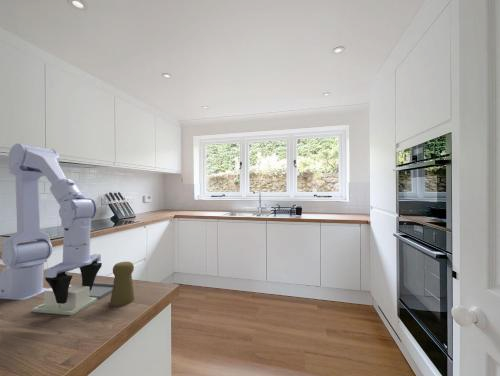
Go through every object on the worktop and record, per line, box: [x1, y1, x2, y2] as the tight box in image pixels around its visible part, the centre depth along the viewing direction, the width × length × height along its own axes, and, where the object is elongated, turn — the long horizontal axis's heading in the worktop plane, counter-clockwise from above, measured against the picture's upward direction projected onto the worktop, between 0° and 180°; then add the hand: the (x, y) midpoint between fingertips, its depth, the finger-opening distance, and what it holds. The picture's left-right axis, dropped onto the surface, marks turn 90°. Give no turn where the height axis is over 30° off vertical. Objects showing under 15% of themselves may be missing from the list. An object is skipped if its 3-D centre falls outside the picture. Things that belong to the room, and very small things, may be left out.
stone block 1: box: [43, 284, 74, 309], centre depth 62 cm, size 4×4×4 cm
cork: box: [109, 261, 135, 307], centre depth 65 cm, size 6×6×11 cm
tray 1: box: [31, 297, 98, 316], centre depth 62 cm, size 11×8×1 cm
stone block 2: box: [61, 285, 90, 311], centre depth 61 cm, size 4×4×4 cm
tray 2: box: [89, 282, 114, 300], centre depth 71 cm, size 11×9×1 cm
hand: (75, 296), depth 61 cm, fingers open, 7 cm apart
